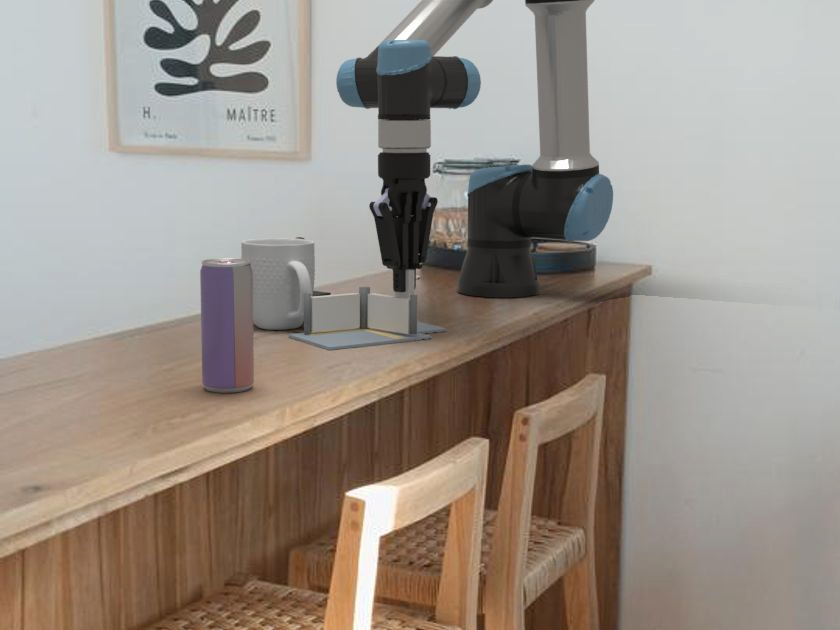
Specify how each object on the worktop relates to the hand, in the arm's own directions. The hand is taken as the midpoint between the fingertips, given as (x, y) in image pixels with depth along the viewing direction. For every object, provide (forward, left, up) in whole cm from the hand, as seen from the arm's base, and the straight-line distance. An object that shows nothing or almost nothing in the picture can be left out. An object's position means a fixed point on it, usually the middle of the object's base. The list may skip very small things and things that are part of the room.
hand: (404, 313), depth 176 cm
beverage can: (+37, +18, -4) cm, 41 cm away
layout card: (+4, -2, -3) cm, 5 cm away
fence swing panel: (+1, -1, -3) cm, 3 cm away
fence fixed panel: (+8, -6, -3) cm, 10 cm away
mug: (+12, -16, -4) cm, 20 cm away
